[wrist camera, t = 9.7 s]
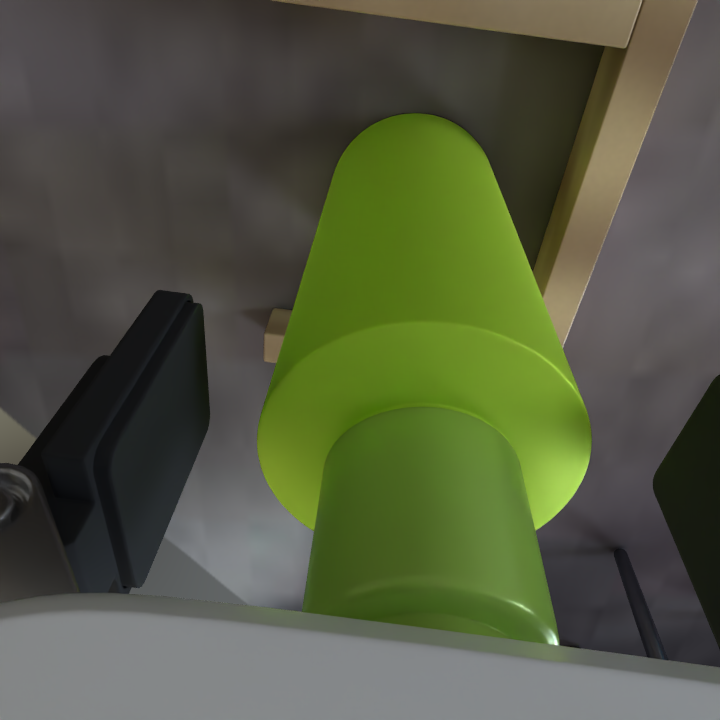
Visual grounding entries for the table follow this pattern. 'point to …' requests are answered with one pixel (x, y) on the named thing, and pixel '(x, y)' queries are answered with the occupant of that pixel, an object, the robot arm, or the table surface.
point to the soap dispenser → (423, 396)
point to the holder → (597, 128)
